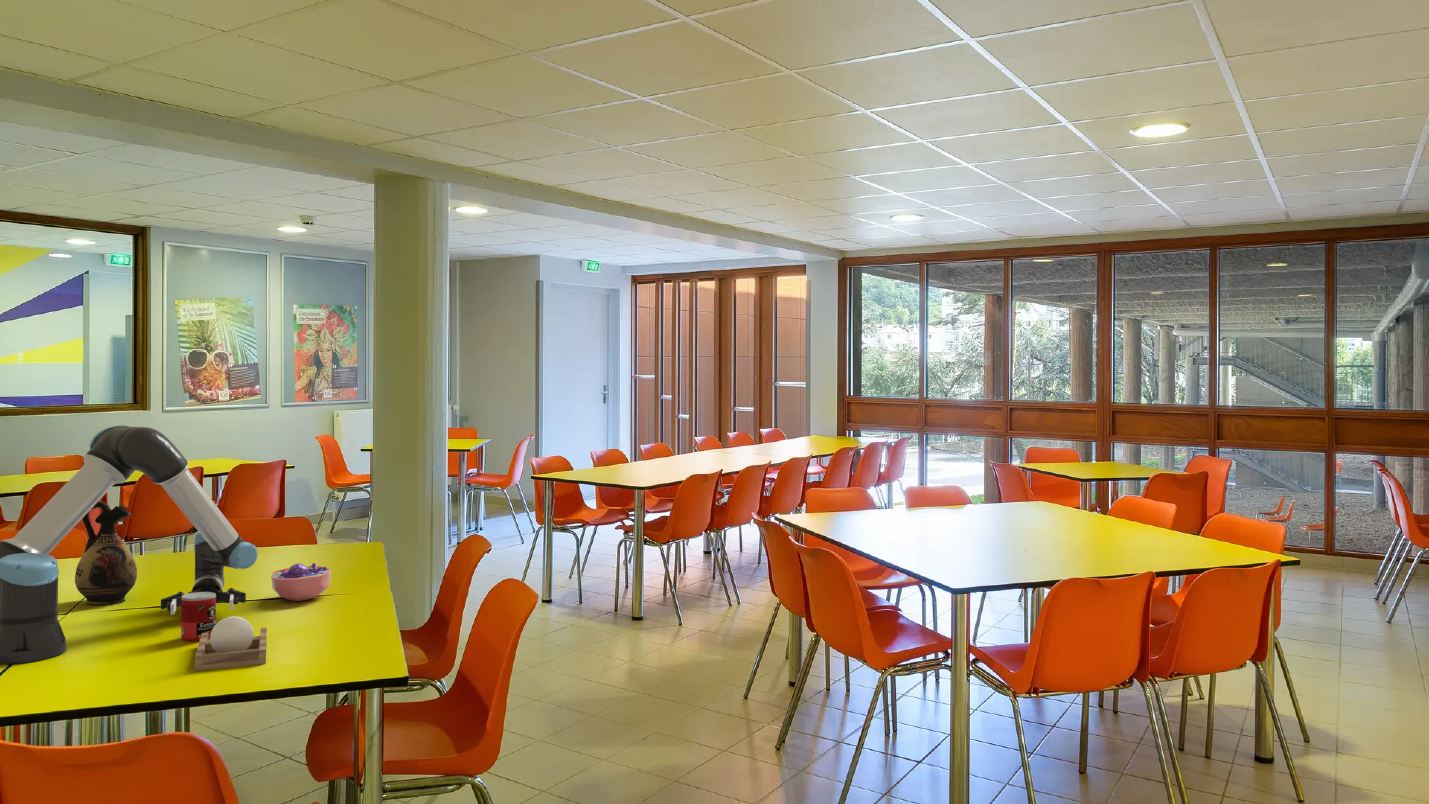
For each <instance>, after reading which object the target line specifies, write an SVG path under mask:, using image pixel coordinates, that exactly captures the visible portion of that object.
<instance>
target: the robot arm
mask: <svg viewBox="0 0 1429 804" xmlns="http://www.w3.org/2000/svg"><path fill="white" fill-rule="evenodd" d="M83 463H84V464H83V466H82V467H80V468H79V470H78V471H77V472H76V473H75V474H74V475H73V476H72V477H71V478H70V479H69V480H68V481H67V482H65V484H64V485H63V486H62V487H61V488H60V489H59V490H58V491H57V492H56V493H55V495H53V496H52V497H51V498H50V500H48V502H46V503H45V504H44V506H42V508H41V509H40V510H39V511H38V512H36V514H35V515H34V516H33V517H32V518H31V519H30V520H29V521H28V522H27V523H26V524H25V525H24V526H23V527H22V528H21V529H20V530H19V532H17V533H16V535H14V536H13V537H12V538H7V539H1V540H0V665H1V664H2V665H3V664H5V665H8V664H9V665H10V664H21V663H30V662H37V661H42V660H46V659H49V658H54V657H56V656H59V655H61V654H64V653H65V652H66V651H67V642H68V641H67V639H66V637H65V634H64V631H63V628H62V626H61V624H60V622H59V621H60V620H59V612H58V610H59V574H60V572H59V571H60V570H59V566H58V560H57V559H56V558H55V556H53V555H50V554H51V553H52V552H53V551H54V549H55V548H56V547H57V546H58V545H59V544H60V543H61V541H63V540H64V539H65V538H66V536H67V535H68V534H69V533H70V532H71V531H73V529H74V528H75V527H76V526H77V525H78V524H79V522H80V521H81V520H83V517H84V516H85V515H86V514H87V513H88V512H89V513H90V512H91V510H92V509H91V508H92V507H93V506H94V505H95V504H96V503H97V502H98V501H101V499H102V498H103V497H104V496H105V495H106V494H107V492H108V491H109V490H110V489H112V487H114V485H118V484H123V483H125V482H127V480H128V479H129V478H130V477H131V476H132V475H133V474H134V473H135V471H138V472H140V473H142V474H144V475H145V476H147V477H148V478H149V479H150V481H151V482H152V483H153V484H155V485H160V486H161V487H162V489H163V490H164V491H165V493H166V494H167V495H168V496H169V498H170V499H171V500H172V501H173V502H174V503H175V505H176V506H177V507H178V508H179V510H180V511H181V512H182V514H184V516H185V517H186V518H187V519H188V520H189V522H190V523H191V524H192V525H193V527H194V528H195V529H196V530H197V533H196V534H195V535H194V537H195V538H194V545H193V547H194V584H193V586H192V588H191V591H189V592H188V593H187V594H189V593H195V592H213V593H215V594H216V604H219V603H228V604H229V610H230V611H231V610H232V611H233V610H234V605H238V604H239V603H242V604H245V603H246V602H247V601H246V600H247V593H246V592H244V591H240V590H237V589H234V588H233V587H230V588H228V589H226V591H223V588H224V587H225V576H224V575H225V574H224V567H227V568H231V569H235V570H236V569H237V570H238V569H240V570H244V569H245V570H246V569H249V568H251V567H252V566H254V564H255V563H256V561H257V559H258V549H257V547H256V545H255V544H252V543H251V542H249V541H245V540H243V538H242V537H241V536H240V535H239V533H238V532H237V531H236V529H235V528H234V527H233V526H232V524H231V523H230V521H229V520H228V519H227V517H226V516H225V515H224V514H223V512H221V510H220V509H219V508H218V506H217V505H216V504H215V502H214V501H213V500H212V498H211V497H210V496H209V494H208V493H207V492H206V490H205V489H204V488H203V487H202V485H201V484H200V483H199V481H198V480H197V479H196V477H195V476H194V475H193V474H192V472H191V471H190V469H189V468H188V467H189V462H188V460H187V459H186V458H185V456H184V455H183V453H181V451H180V450H179V449H178V448H177V447H176V445H175V444H174V443H173V442H172V441H171V440H170V439H169V438H168V437H167V436H166V435H165V434H164V433H162V432H161V431H159V430H157V429H155V428H152V427H149V426H148V427H146V426H130V425H123V424H122V425H114V426H109V427H105V428H103V429H101V430H99V431H98V432H97V433H96V434H95V435H94V436H93V437H92V438H91V441H90V443H89V451H87V452H86V453H85V454H84V455H83ZM183 595H185V592H183V591H179V592H178V591H177V592H176V593H174V594H172V595H169V596H166V597H164V598H161V599H160V610H165V609H167V612H170V616H172V615H175V613H176V610H177V608H179V607H180V608H181V598H182V596H183Z"/></svg>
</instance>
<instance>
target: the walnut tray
mask: <svg viewBox="0 0 1429 804" xmlns="http://www.w3.org/2000/svg"><path fill="white" fill-rule="evenodd" d="M259 629H260V631H259V635H256V636H255V635H253V640H252V643H251V645H250V646H249V647H248V648H247V649H246V650H243V651H233V652H223V653H217V652H216V651H215V650H214V649H213V648H212V646H211V643H210V640H208V633H202V635H201V638H200V641H198V645H197V648H196V652H195V655H194V671H195V672H198V671H206V670H207V671H209V670H217V669H227V668H235V667H236V668H237V667H245V666H254V665H264V664H266V663H267V645H268V644H267V642H268V641H267V640H268V639H267V637H268V636H267V635H268V633H267V631H268V629H267V626H266V627H260V628H259Z"/></svg>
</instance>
